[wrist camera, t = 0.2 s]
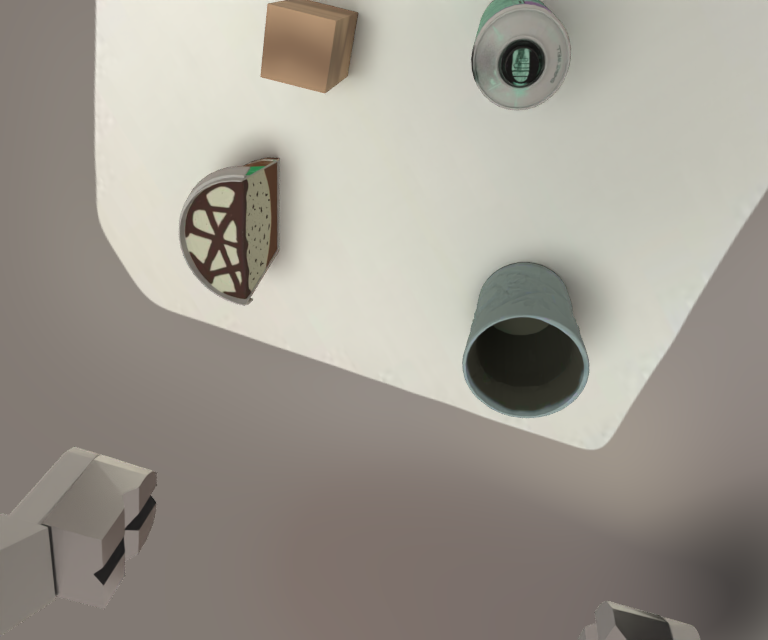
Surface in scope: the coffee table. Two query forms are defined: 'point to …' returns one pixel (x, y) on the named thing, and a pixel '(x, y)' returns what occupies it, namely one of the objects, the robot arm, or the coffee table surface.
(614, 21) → the coffee table surface
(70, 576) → the robot arm
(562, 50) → the spray can
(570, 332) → the plant pot
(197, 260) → the ice cream tub
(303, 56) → the walnut block
